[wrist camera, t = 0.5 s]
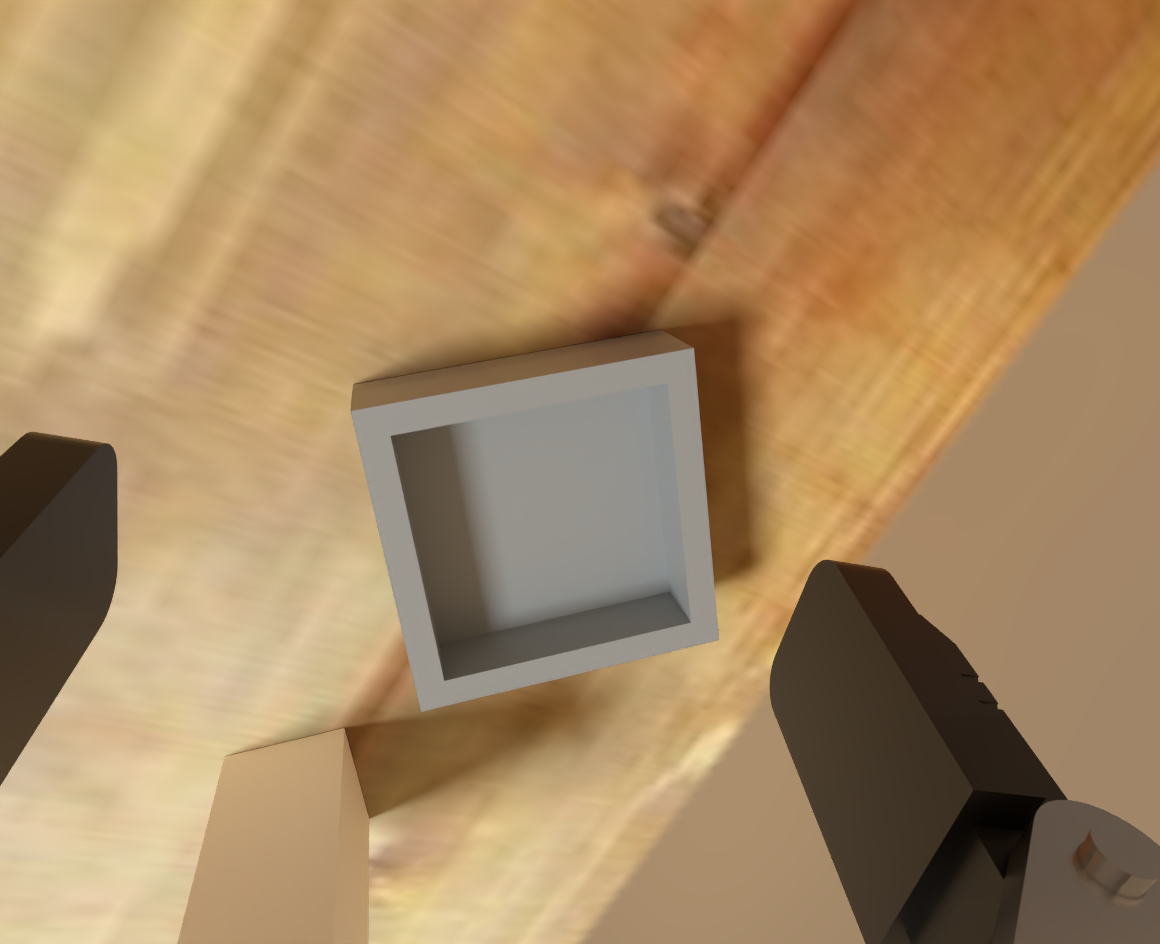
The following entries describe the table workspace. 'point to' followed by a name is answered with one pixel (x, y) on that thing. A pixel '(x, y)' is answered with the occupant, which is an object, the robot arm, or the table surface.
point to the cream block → (284, 849)
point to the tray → (541, 512)
